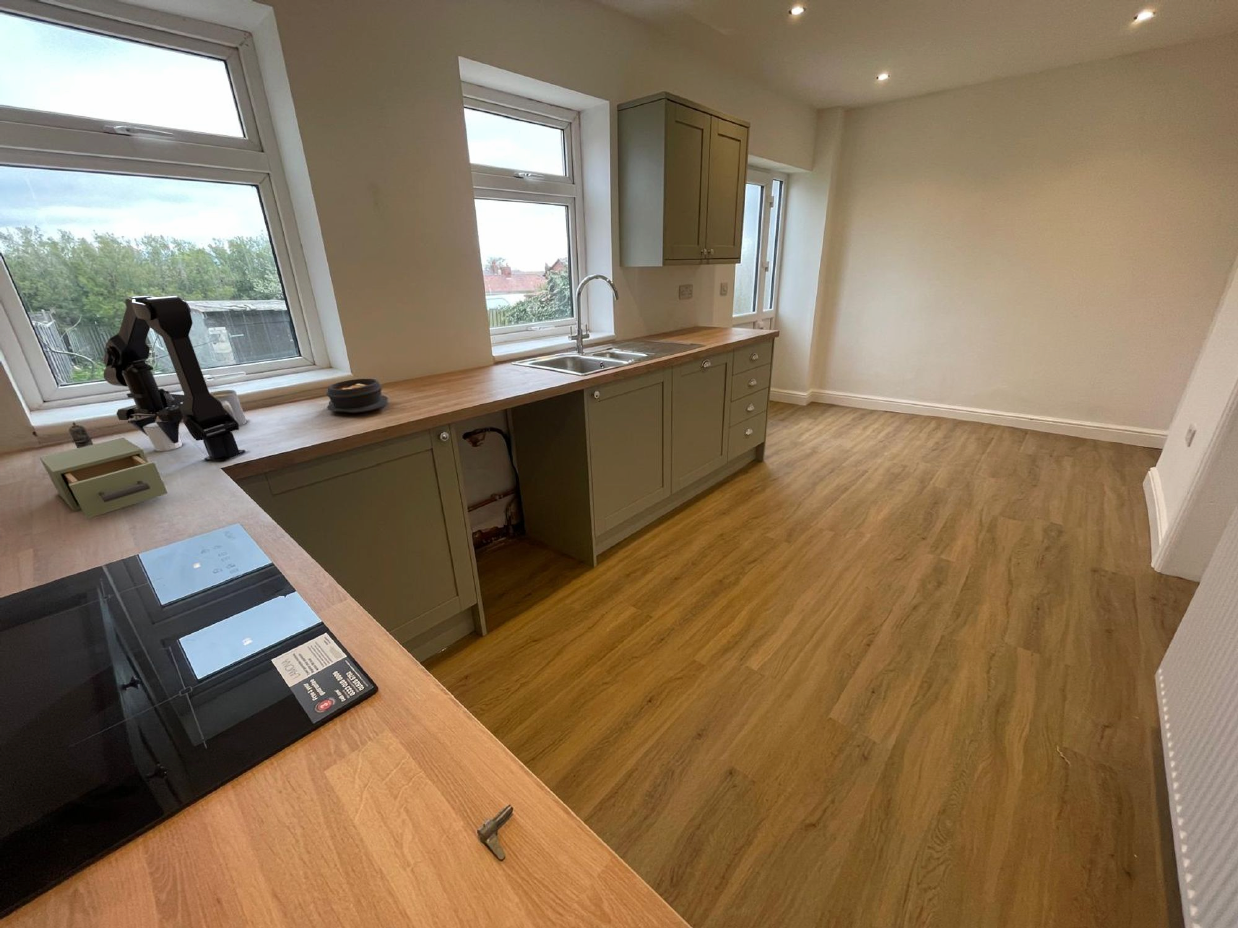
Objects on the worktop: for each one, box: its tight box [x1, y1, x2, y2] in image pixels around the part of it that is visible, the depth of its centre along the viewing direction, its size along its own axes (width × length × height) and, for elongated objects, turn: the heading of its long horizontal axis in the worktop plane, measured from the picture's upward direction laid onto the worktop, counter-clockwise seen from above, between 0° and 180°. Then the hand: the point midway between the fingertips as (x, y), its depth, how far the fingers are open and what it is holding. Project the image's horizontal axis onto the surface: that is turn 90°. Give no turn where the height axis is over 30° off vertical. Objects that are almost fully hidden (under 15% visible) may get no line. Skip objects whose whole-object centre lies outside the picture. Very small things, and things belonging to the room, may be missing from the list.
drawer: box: [62, 455, 169, 519], centre depth 105 cm, size 19×13×7 cm
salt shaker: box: [68, 421, 95, 449], centre depth 126 cm, size 6×6×12 cm
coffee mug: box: [208, 389, 247, 430], centre depth 154 cm, size 13×10×10 cm
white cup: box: [143, 421, 183, 452], centre depth 138 cm, size 7×7×7 cm
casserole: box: [325, 378, 389, 414], centre depth 166 cm, size 25×19×8 cm
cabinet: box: [39, 437, 149, 512], centre depth 112 cm, size 16×14×9 cm
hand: (167, 442), depth 139 cm, fingers closed on white cup, 6 cm apart
